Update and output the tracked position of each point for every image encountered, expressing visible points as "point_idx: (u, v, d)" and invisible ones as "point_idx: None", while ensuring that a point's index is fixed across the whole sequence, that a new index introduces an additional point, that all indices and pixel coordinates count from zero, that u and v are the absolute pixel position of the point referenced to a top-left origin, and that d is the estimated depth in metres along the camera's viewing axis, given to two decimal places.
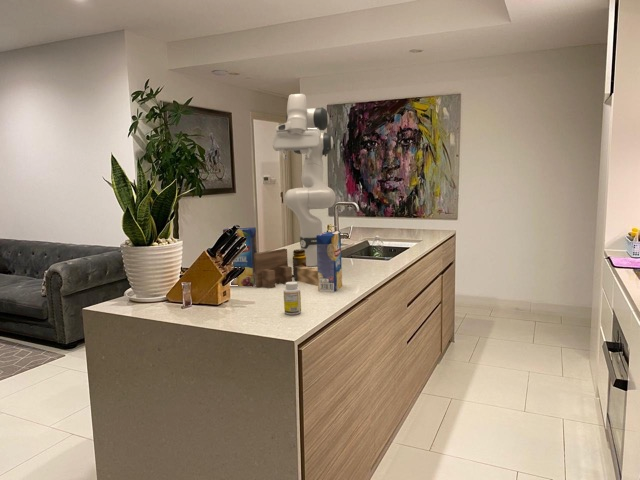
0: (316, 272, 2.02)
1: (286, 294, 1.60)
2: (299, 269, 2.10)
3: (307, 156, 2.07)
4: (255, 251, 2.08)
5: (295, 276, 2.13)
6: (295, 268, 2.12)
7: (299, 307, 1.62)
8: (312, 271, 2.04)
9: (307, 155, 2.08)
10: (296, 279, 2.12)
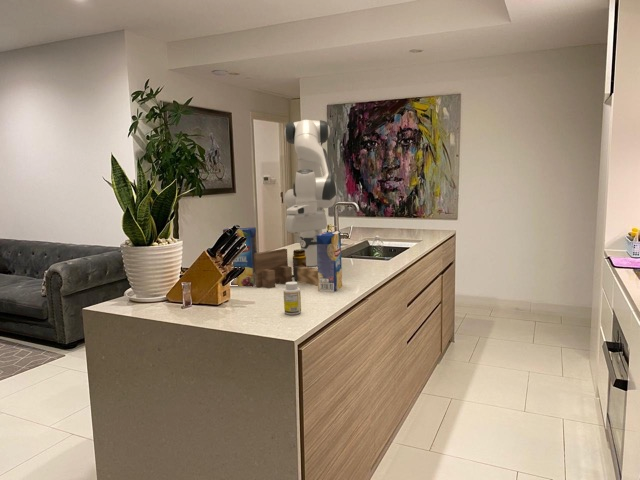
0: (316, 272, 2.02)
1: (286, 294, 1.60)
2: (299, 269, 2.10)
3: None
4: (255, 251, 2.08)
5: (295, 276, 2.13)
6: (295, 268, 2.12)
7: (299, 307, 1.62)
8: (312, 271, 2.04)
9: None
10: (296, 279, 2.12)
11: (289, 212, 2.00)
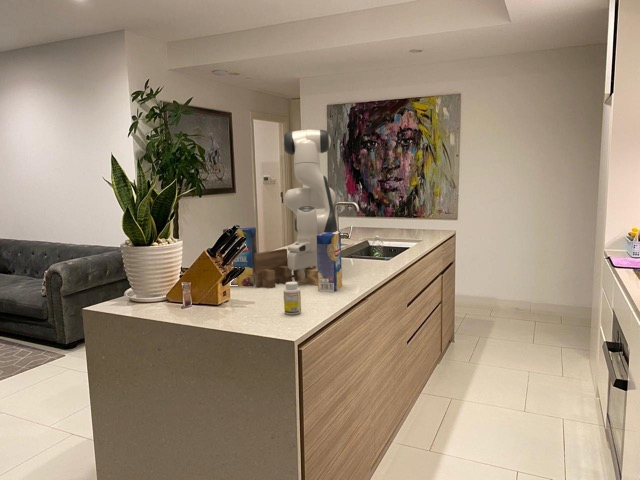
0: (316, 272, 2.02)
1: (286, 294, 1.60)
2: None
3: None
4: (255, 251, 2.08)
5: (295, 276, 2.13)
6: None
7: (299, 307, 1.62)
8: (312, 271, 2.04)
9: None
10: (296, 279, 2.12)
11: (291, 249, 2.02)
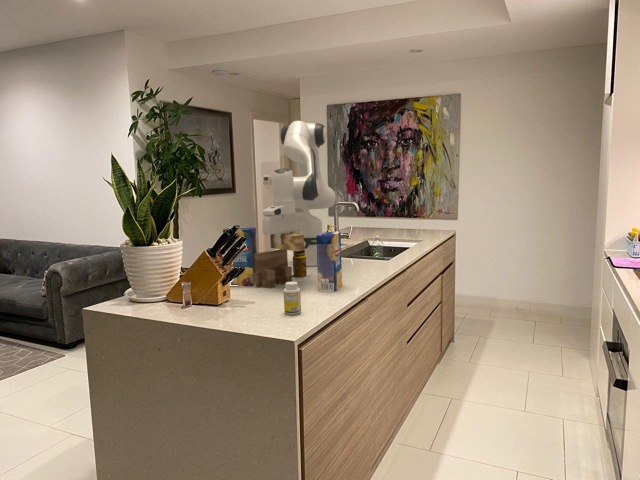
0: (292, 237, 1.92)
1: (286, 294, 1.60)
2: None
3: None
4: (255, 251, 2.08)
5: (271, 243, 2.02)
6: None
7: (299, 307, 1.62)
8: (288, 236, 1.94)
9: None
10: (272, 246, 2.02)
11: (265, 213, 1.92)
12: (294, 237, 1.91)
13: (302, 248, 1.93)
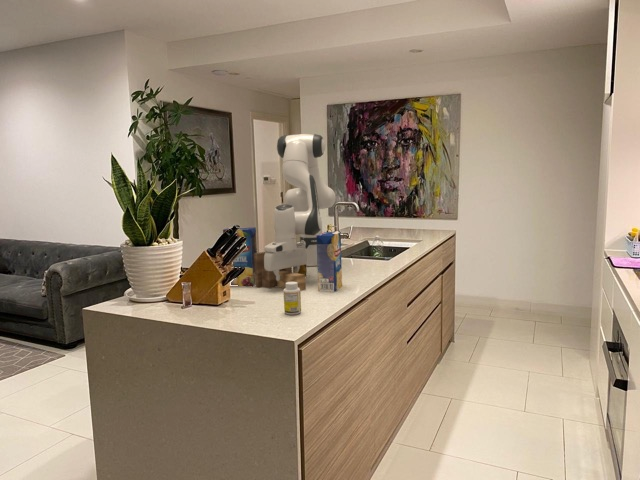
0: (294, 277, 1.94)
1: (286, 294, 1.60)
2: None
3: None
4: (255, 251, 2.08)
5: None
6: None
7: (299, 307, 1.62)
8: (290, 276, 1.96)
9: None
10: None
11: (267, 250, 1.94)
12: (296, 277, 1.94)
13: (304, 288, 1.96)
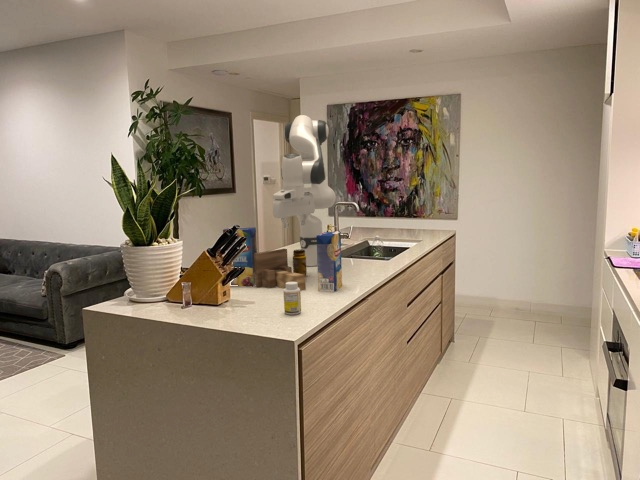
0: (294, 277, 1.94)
1: (286, 294, 1.60)
2: (277, 273, 2.02)
3: (305, 223, 2.09)
4: (255, 251, 2.08)
5: None
6: None
7: (299, 307, 1.62)
8: (290, 276, 1.96)
9: (305, 222, 2.09)
10: None
11: (276, 197, 1.99)
12: (296, 277, 1.94)
13: (304, 288, 1.96)
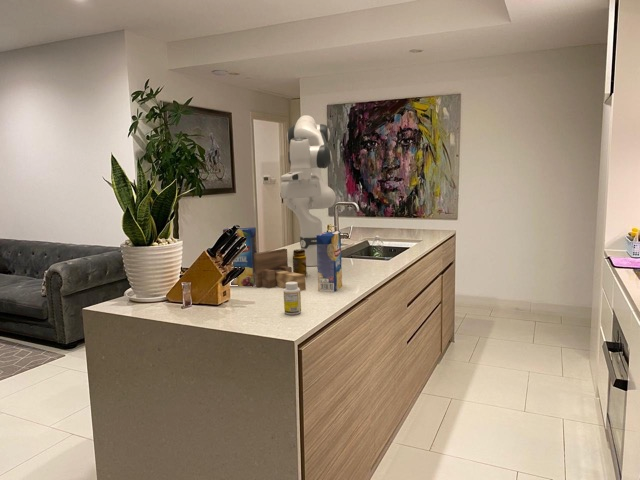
0: (294, 277, 1.94)
1: (286, 294, 1.60)
2: (277, 273, 2.02)
3: (311, 205, 2.13)
4: (255, 251, 2.08)
5: None
6: None
7: (299, 307, 1.62)
8: (290, 276, 1.96)
9: (311, 204, 2.13)
10: None
11: (284, 178, 2.03)
12: (296, 277, 1.94)
13: (304, 288, 1.96)
